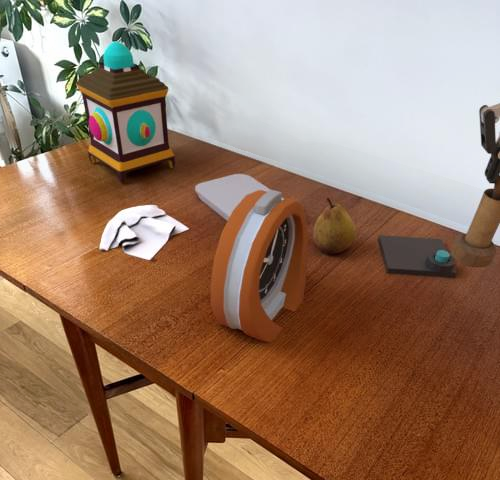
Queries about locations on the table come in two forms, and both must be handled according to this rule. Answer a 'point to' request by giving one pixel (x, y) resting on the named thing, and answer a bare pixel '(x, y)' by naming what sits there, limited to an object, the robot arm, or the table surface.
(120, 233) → the cloth
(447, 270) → the kitchen scale
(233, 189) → the tablet
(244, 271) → the alarm clock
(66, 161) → the table surface
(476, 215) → the mortar and pestle
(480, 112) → the robot arm
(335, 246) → the fruit
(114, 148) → the decorative lantern
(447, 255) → the button
